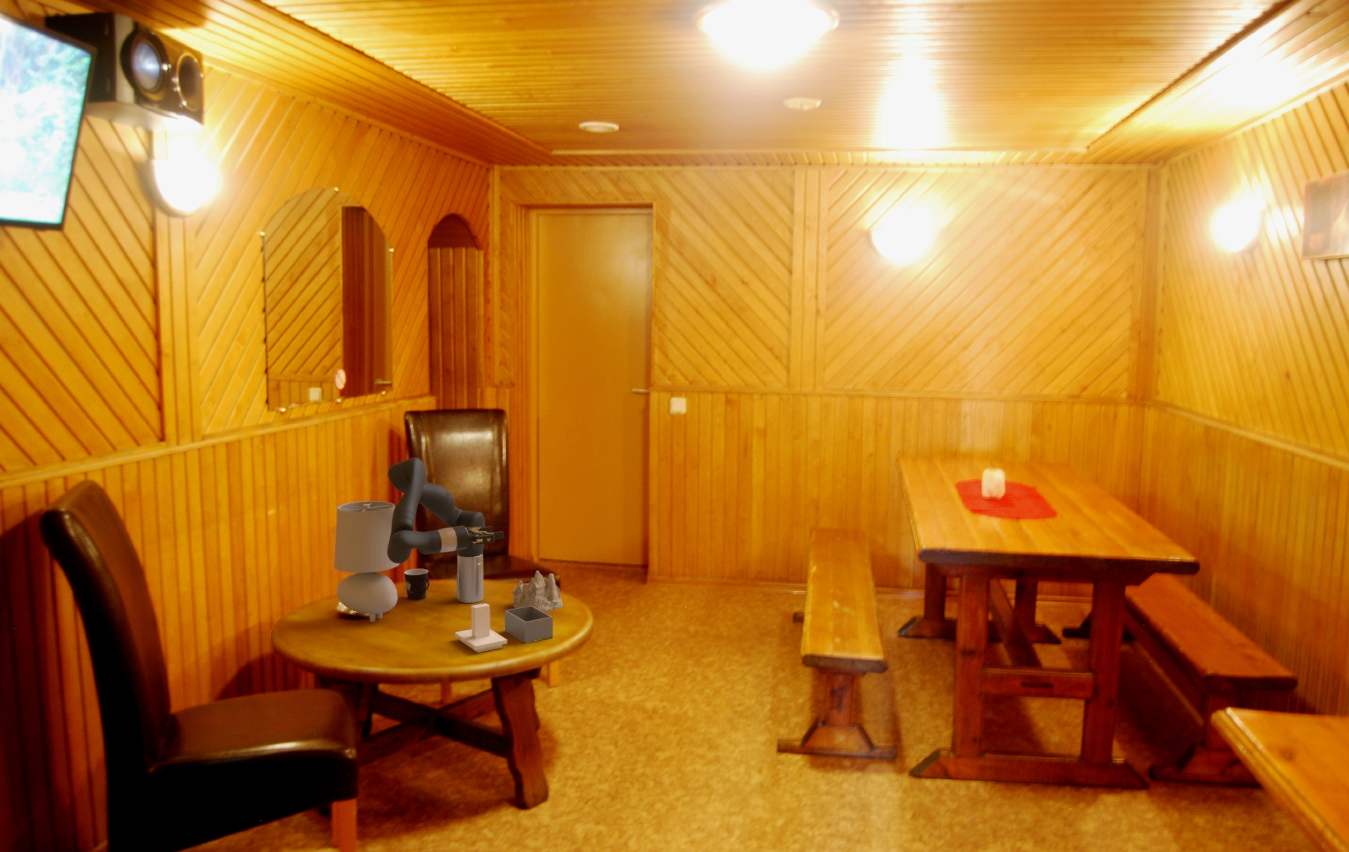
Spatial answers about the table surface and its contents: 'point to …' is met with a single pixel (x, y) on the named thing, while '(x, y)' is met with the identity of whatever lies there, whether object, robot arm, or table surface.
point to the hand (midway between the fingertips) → (498, 531)
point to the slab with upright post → (481, 631)
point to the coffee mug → (416, 583)
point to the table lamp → (365, 557)
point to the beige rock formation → (538, 593)
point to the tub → (528, 624)
